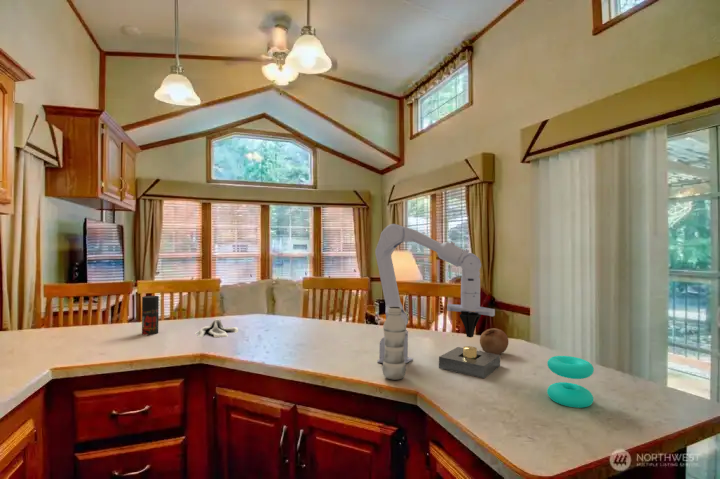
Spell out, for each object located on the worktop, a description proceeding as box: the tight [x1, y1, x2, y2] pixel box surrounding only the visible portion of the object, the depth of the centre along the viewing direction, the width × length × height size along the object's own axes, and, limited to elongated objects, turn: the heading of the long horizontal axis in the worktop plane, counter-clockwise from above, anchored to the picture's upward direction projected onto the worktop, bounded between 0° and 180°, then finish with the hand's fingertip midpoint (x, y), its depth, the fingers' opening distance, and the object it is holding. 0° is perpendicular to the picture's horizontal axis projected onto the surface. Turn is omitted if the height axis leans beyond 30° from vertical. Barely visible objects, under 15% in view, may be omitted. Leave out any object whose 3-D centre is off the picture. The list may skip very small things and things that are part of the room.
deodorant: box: [141, 295, 160, 336], centre depth 160 cm, size 6×6×15 cm
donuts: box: [546, 355, 595, 409], centre depth 96 cm, size 10×10×10 cm
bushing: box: [462, 345, 478, 360], centre depth 120 cm, size 4×4×6 cm
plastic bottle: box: [381, 306, 407, 380], centre depth 110 cm, size 6×7×20 cm
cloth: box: [194, 318, 239, 338], centre depth 161 cm, size 22×19×6 cm
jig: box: [438, 346, 501, 379], centre depth 120 cm, size 14×14×4 cm
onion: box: [479, 327, 509, 355], centre depth 135 cm, size 10×9×10 cm
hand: (470, 336), depth 120 cm, fingers closed
